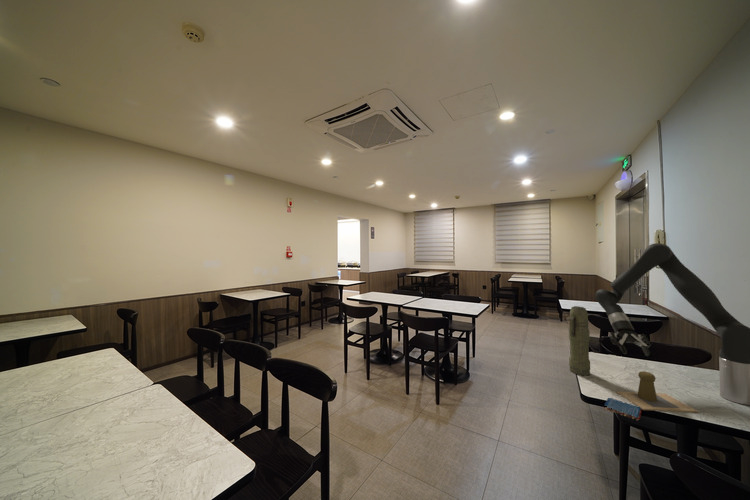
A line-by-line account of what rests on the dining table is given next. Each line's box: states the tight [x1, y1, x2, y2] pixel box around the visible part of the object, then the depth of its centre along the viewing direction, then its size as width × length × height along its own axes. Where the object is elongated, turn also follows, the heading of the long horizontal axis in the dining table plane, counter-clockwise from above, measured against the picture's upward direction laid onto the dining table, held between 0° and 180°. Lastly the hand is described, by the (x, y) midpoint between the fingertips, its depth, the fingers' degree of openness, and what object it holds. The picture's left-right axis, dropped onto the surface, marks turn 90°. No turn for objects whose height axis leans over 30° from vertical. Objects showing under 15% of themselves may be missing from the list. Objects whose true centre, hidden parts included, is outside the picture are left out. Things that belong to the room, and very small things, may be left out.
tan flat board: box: [616, 391, 699, 413], centre depth 112 cm, size 20×13×1 cm, turn 84°
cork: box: [637, 370, 657, 402], centre depth 114 cm, size 6×6×11 cm
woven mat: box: [603, 397, 642, 421], centre depth 107 cm, size 10×11×2 cm
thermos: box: [568, 305, 591, 377], centre depth 140 cm, size 9×12×35 cm
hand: (636, 354), depth 123 cm, fingers open, 8 cm apart
